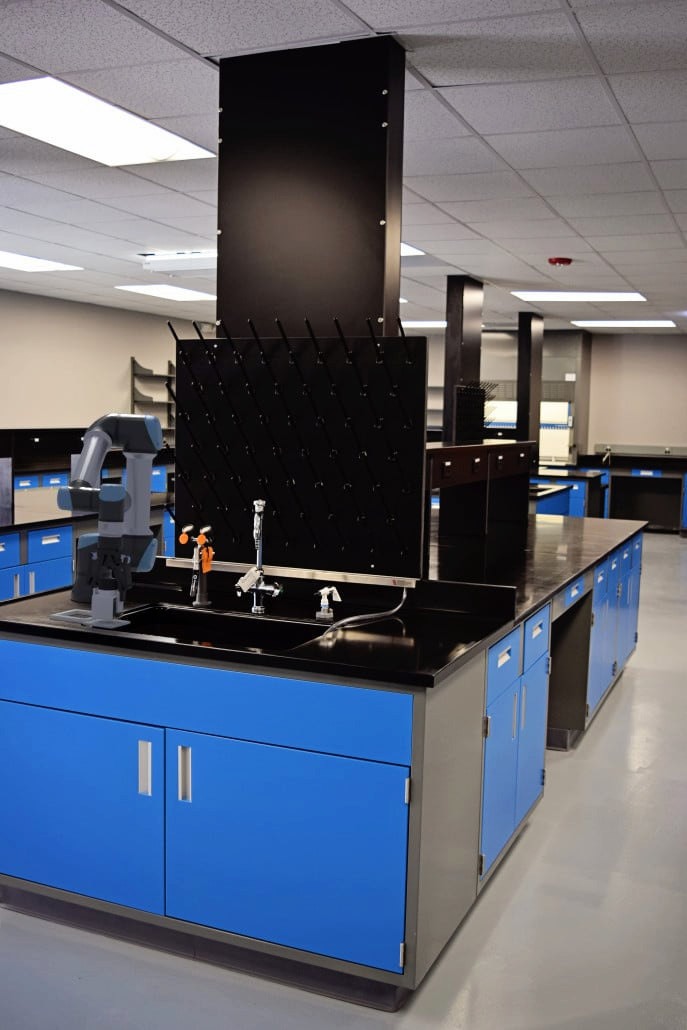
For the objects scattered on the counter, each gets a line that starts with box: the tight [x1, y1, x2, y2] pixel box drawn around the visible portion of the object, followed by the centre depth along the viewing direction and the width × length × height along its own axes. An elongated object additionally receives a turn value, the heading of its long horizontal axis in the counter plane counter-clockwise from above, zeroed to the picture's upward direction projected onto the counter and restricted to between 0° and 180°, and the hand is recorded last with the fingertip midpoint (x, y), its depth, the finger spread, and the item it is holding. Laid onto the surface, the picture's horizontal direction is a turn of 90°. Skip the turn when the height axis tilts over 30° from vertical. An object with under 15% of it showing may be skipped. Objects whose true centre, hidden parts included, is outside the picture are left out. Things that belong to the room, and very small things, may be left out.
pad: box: [82, 619, 131, 629], centre depth 285 cm, size 10×10×1 cm
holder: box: [49, 608, 95, 624], centre depth 292 cm, size 13×13×1 cm
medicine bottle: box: [90, 577, 124, 620], centre depth 285 cm, size 7×7×12 cm
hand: (107, 610), depth 285 cm, fingers closed on medicine bottle, 7 cm apart
